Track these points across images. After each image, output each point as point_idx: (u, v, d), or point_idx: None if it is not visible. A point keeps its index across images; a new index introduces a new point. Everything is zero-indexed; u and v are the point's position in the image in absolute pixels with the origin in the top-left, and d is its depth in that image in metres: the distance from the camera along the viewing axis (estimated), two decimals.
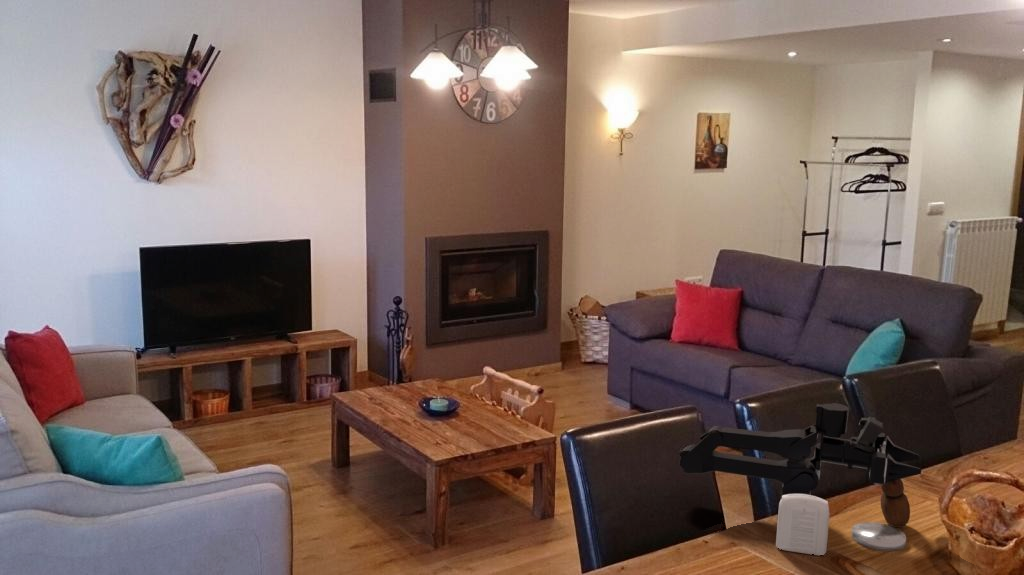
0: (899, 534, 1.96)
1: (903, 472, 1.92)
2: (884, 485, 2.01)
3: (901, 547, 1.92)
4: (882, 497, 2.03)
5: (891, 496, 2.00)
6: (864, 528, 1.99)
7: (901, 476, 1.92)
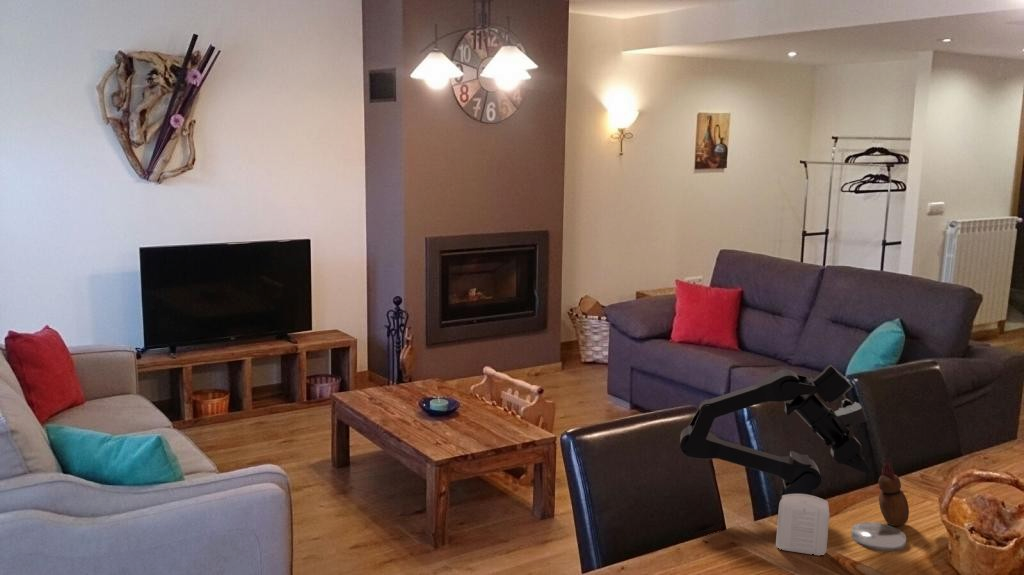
0: (899, 534, 1.96)
1: (858, 464, 1.98)
2: (881, 482, 2.02)
3: (901, 547, 1.92)
4: (880, 496, 2.04)
5: (889, 493, 2.02)
6: (864, 528, 1.99)
7: (854, 466, 1.98)
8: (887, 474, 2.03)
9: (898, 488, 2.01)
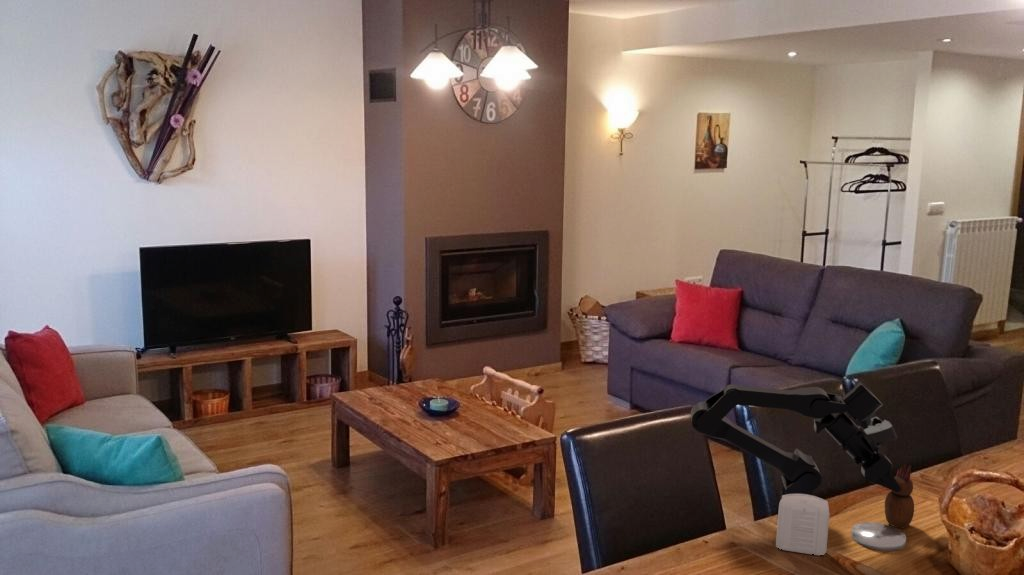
0: (899, 534, 1.96)
1: (888, 483, 1.97)
2: None
3: (901, 547, 1.92)
4: (889, 495, 2.03)
5: (899, 494, 2.01)
6: (864, 528, 1.99)
7: (884, 485, 1.97)
8: (902, 476, 2.02)
9: (910, 492, 2.01)
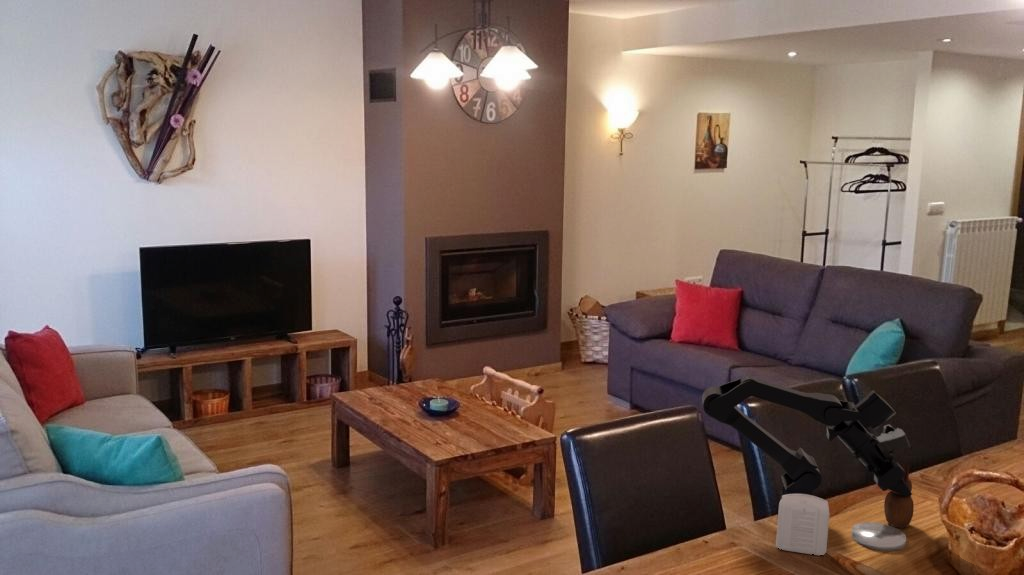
0: (899, 534, 1.96)
1: (899, 487, 1.99)
2: None
3: (901, 547, 1.92)
4: (888, 495, 2.04)
5: (898, 494, 2.01)
6: (864, 528, 1.99)
7: (895, 489, 1.99)
8: None
9: None
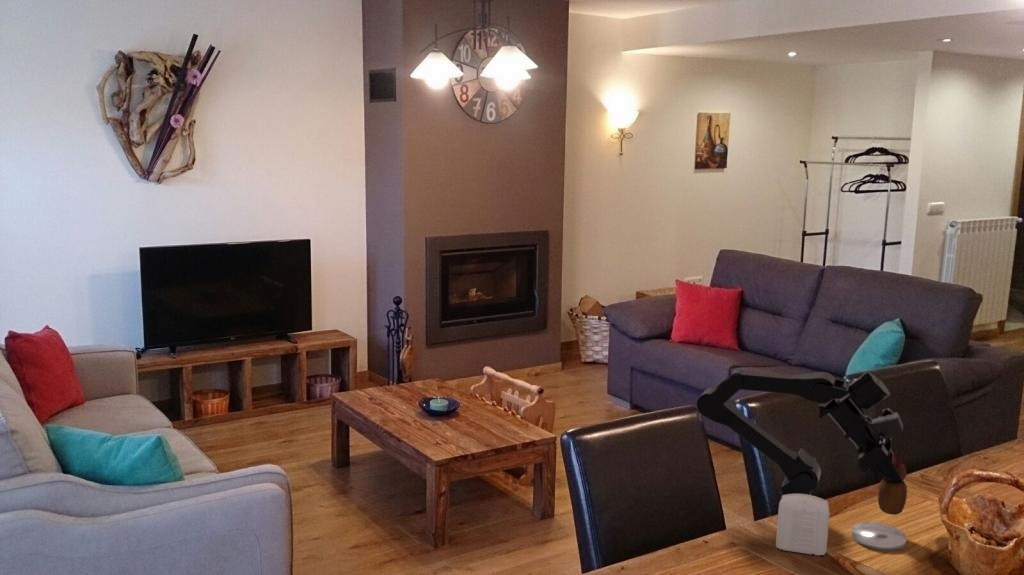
0: (899, 534, 1.96)
1: (887, 472, 1.94)
2: None
3: (901, 547, 1.92)
4: (881, 480, 1.99)
5: (889, 479, 1.96)
6: (864, 528, 1.99)
7: (883, 473, 1.94)
8: (894, 461, 1.96)
9: None
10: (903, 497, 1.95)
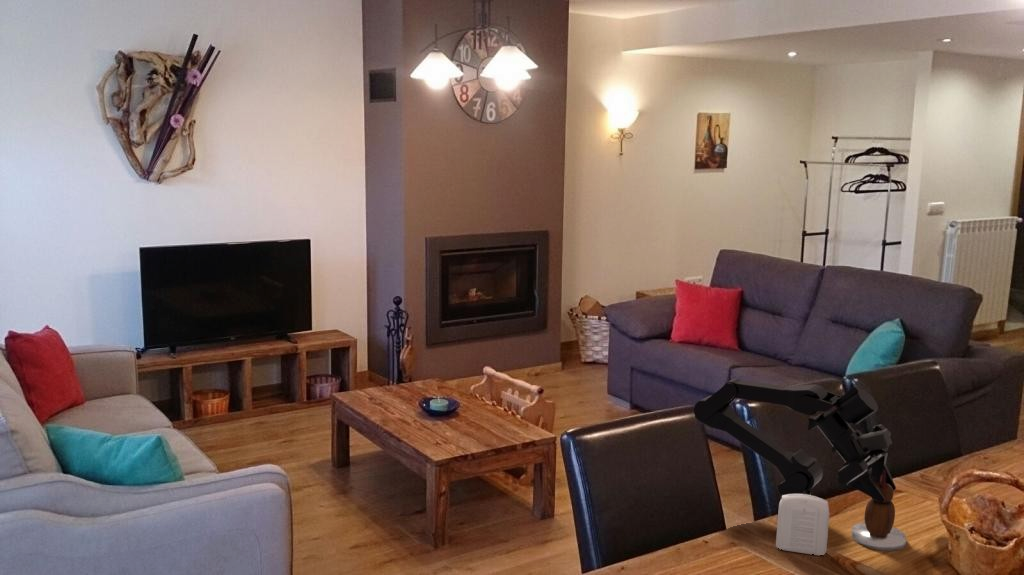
0: (899, 534, 1.96)
1: (868, 490, 1.91)
2: None
3: (901, 547, 1.92)
4: None
5: (874, 500, 1.94)
6: (864, 528, 1.99)
7: (864, 491, 1.92)
8: (881, 482, 1.94)
9: (885, 499, 1.93)
10: (887, 519, 1.92)
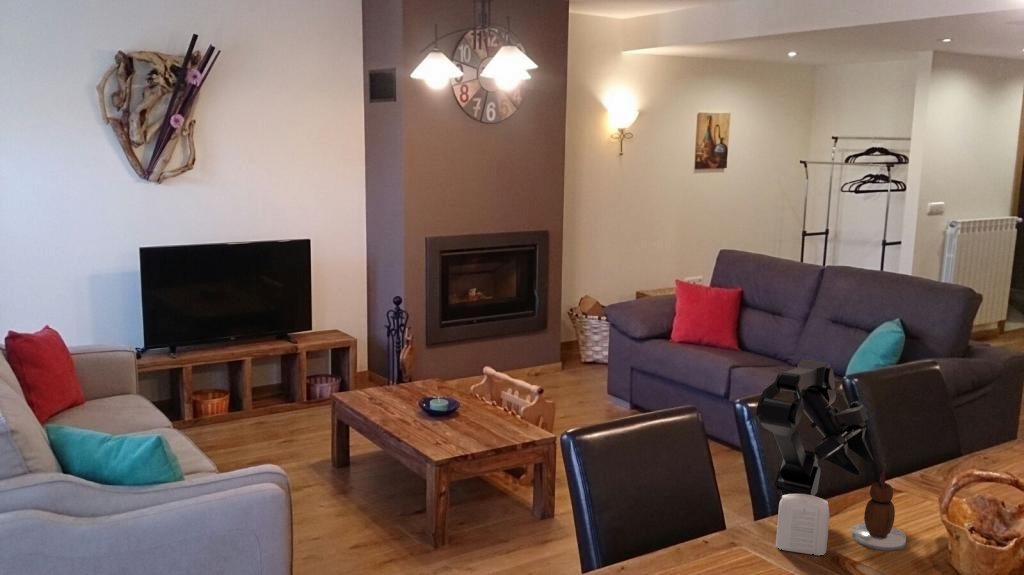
0: (899, 534, 1.96)
1: (845, 464, 2.01)
2: (871, 487, 1.95)
3: (901, 547, 1.92)
4: None
5: (874, 500, 1.94)
6: (864, 528, 1.99)
7: (840, 465, 2.02)
8: (881, 482, 1.94)
9: (884, 499, 1.93)
10: (887, 519, 1.92)
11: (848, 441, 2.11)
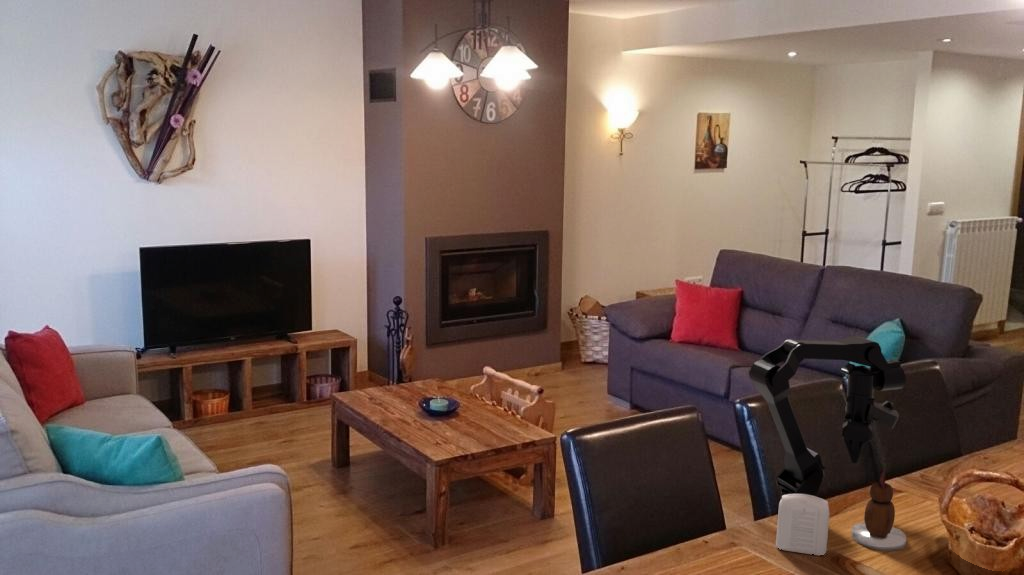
0: (899, 534, 1.96)
1: (853, 449, 2.05)
2: (871, 487, 1.95)
3: (901, 547, 1.92)
4: None
5: (874, 500, 1.94)
6: (864, 528, 1.99)
7: (849, 448, 2.05)
8: (881, 482, 1.94)
9: (884, 499, 1.93)
10: (887, 519, 1.92)
11: None
